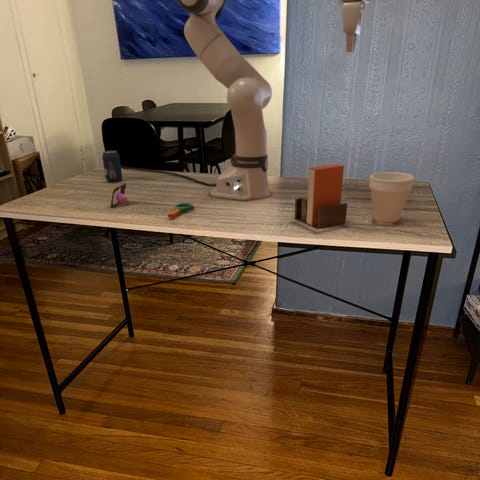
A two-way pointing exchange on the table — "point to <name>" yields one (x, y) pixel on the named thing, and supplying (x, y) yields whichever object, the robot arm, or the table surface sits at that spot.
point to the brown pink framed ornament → (119, 195)
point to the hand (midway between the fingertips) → (350, 52)
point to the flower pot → (389, 194)
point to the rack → (321, 214)
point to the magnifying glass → (180, 209)
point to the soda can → (112, 166)
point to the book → (323, 188)
